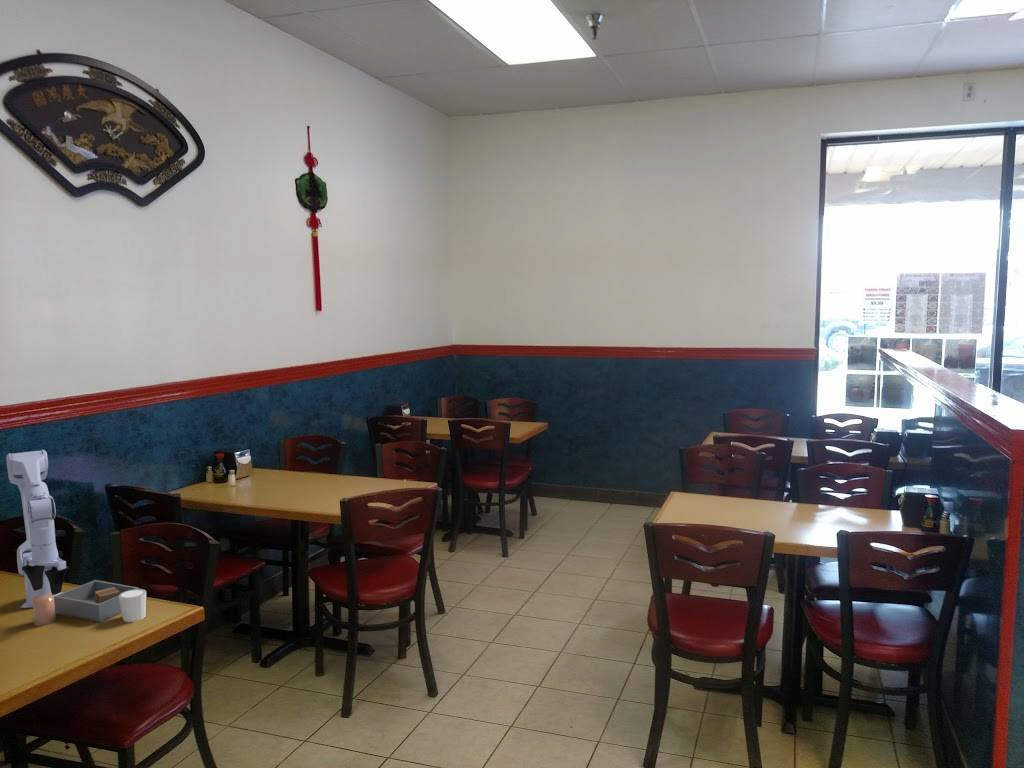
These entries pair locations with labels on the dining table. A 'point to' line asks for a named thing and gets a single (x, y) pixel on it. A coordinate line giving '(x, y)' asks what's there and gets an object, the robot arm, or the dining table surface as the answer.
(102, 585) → the tote
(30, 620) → the dining table surface
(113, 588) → the walnut cube
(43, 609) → the terracotta cylinder
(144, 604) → the white cylinder
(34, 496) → the robot arm
